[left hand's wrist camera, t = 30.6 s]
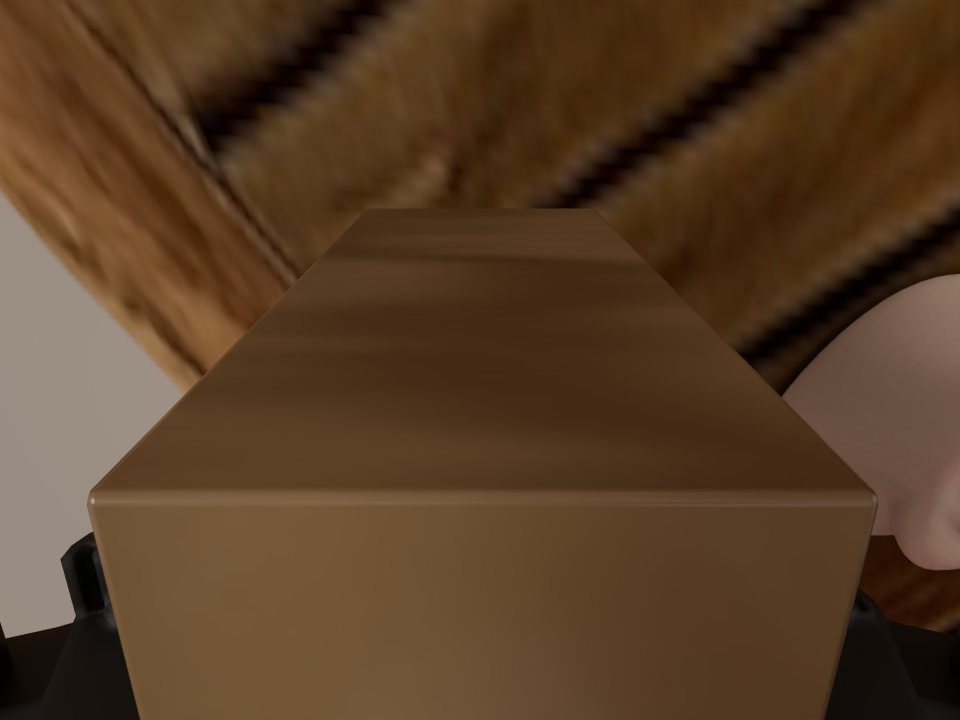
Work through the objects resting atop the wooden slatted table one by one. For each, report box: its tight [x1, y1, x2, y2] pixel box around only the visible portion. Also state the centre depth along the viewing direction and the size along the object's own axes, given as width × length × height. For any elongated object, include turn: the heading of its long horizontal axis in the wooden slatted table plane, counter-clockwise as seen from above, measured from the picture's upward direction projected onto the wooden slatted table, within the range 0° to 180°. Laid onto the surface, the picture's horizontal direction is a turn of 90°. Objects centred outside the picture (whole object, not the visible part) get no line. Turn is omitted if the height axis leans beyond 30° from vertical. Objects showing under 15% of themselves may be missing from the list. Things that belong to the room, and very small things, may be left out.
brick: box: [87, 209, 878, 720], centre depth 11 cm, size 5×9×12 cm, turn 0°
